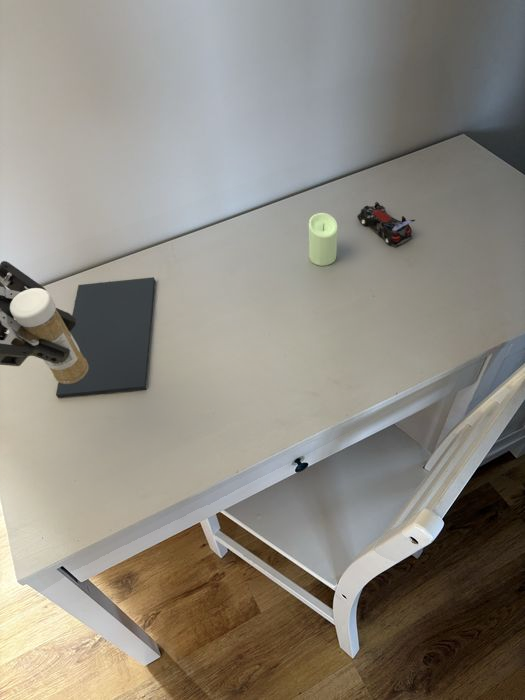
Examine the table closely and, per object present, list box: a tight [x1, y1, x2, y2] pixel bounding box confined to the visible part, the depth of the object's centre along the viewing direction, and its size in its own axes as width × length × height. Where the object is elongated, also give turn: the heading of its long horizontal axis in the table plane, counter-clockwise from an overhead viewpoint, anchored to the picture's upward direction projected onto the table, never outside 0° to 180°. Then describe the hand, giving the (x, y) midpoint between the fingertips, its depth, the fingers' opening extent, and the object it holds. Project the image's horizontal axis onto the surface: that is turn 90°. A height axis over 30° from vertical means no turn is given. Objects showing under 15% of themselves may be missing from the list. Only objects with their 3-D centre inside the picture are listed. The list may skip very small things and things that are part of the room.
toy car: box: [356, 201, 416, 248], centre depth 101 cm, size 6×12×4 cm, turn 33°
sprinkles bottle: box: [10, 288, 88, 384], centre depth 65 cm, size 5×5×13 cm
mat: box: [55, 276, 156, 399], centre depth 91 cm, size 24×14×1 cm, turn 4°
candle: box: [308, 212, 339, 267], centre depth 96 cm, size 5×5×8 cm
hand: (69, 340), depth 65 cm, fingers closed on sprinkles bottle, 4 cm apart
